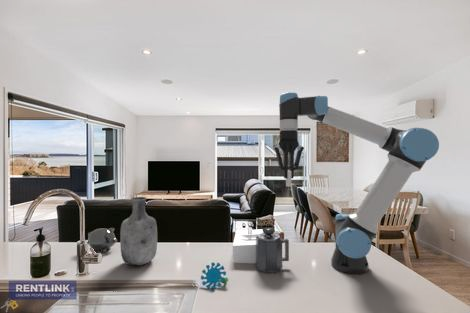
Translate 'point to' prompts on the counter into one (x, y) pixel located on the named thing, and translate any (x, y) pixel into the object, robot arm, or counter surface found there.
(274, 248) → the carafe
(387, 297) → the counter surface
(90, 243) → the piggy bank
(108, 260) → the counter surface
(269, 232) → the plunger
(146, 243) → the vase
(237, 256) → the tissue box
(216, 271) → the gear
